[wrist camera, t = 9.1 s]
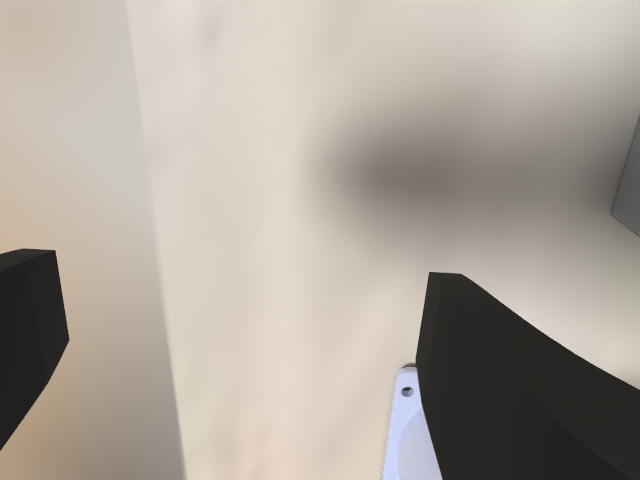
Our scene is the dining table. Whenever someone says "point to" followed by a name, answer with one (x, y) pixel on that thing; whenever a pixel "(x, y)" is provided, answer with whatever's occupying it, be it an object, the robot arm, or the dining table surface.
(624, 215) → the chassis
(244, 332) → the dining table surface
